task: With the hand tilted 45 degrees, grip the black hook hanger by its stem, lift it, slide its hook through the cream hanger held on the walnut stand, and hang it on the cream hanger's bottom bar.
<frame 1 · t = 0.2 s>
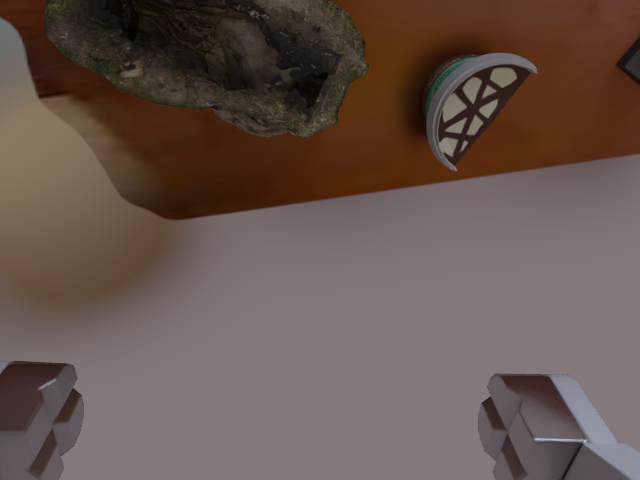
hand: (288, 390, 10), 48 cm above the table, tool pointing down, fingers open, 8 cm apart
food container: (442, 83, 54), on the table
log: (225, 38, 51), on the table
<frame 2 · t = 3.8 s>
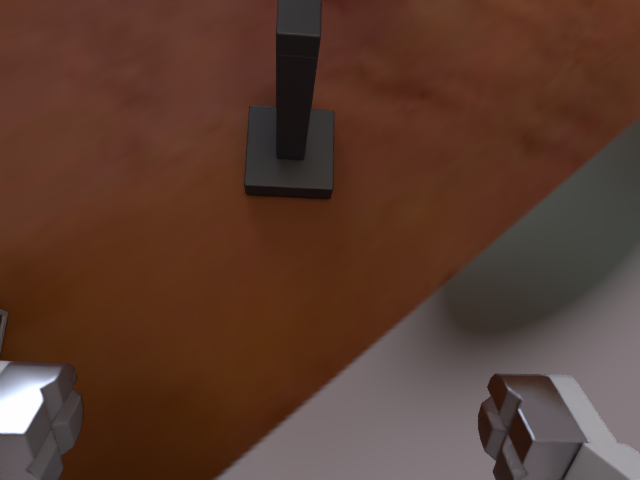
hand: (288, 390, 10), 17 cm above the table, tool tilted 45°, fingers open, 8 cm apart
black hanger: (289, 157, 29), on the table
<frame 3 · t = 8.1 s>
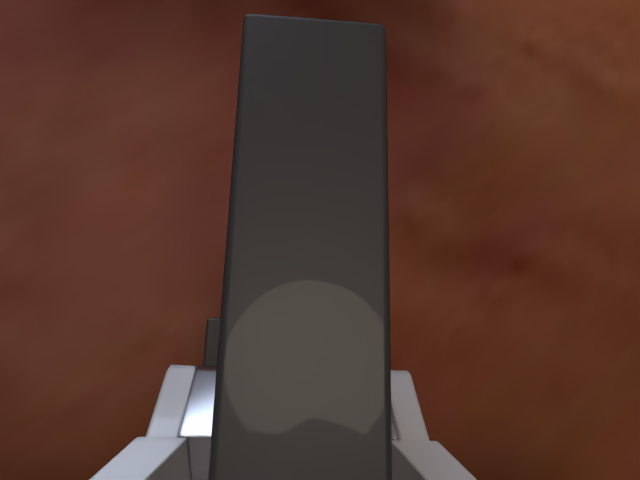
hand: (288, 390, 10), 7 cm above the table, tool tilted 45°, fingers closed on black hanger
black hanger: (284, 401, 16), on the table, touching gripper
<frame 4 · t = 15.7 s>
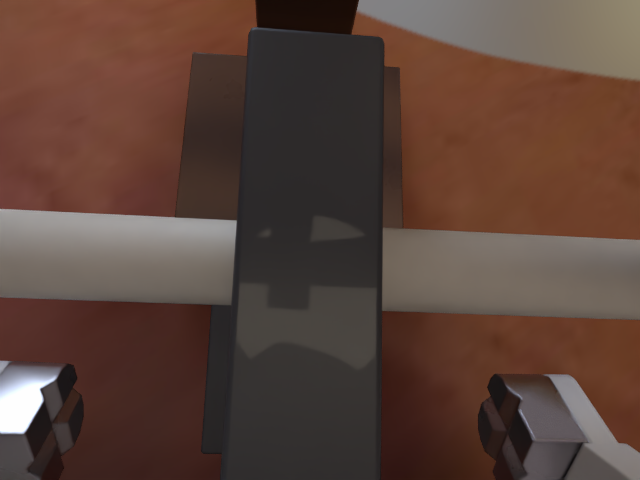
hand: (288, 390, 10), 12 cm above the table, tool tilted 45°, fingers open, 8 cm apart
hanger stand: (285, 336, 21), on the table
black hanger: (286, 367, 17), point 4 cm above the table, touching hanger stand
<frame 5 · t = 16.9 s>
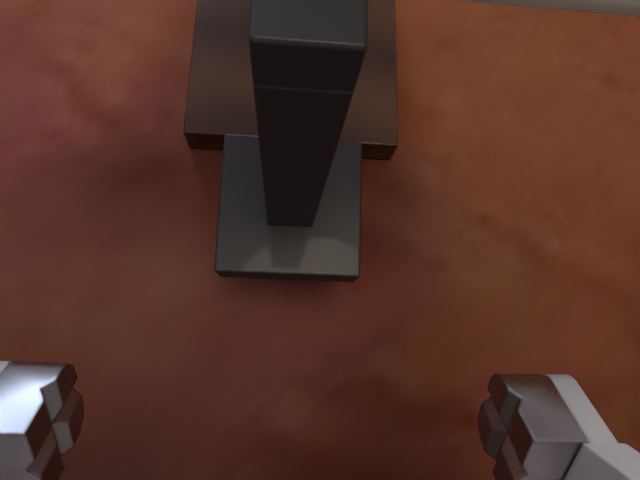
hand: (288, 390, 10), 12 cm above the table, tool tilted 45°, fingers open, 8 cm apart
hanger stand: (288, 211, 23), on the table
black hanger: (290, 214, 18), point 4 cm above the table, touching hanger stand
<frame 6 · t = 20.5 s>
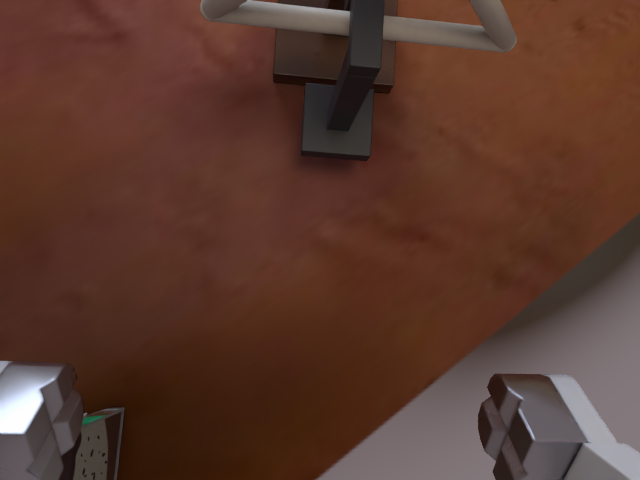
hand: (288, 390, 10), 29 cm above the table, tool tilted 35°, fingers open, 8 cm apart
hanger stand: (330, 121, 41), on the table
black hanger: (335, 125, 36), point 5 cm above the table, touching hanger stand
food container: (76, 468, 36), on the table
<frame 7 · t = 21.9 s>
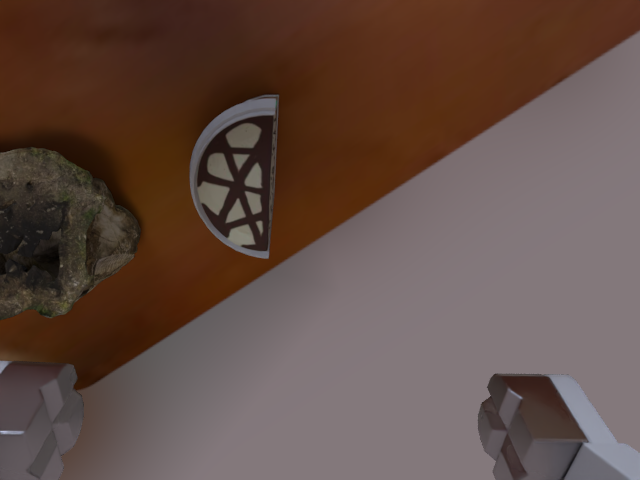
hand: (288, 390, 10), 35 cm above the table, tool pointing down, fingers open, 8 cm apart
food container: (242, 143, 43), on the table
log: (1, 216, 46), on the table
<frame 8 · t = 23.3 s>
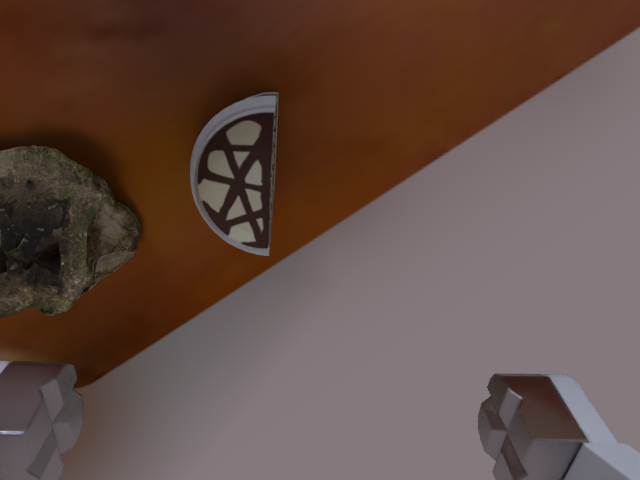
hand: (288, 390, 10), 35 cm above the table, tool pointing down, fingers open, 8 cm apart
food container: (242, 141, 43), on the table
log: (2, 214, 46), on the table
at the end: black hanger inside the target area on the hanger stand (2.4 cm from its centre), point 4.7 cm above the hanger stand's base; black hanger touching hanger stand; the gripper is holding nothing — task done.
